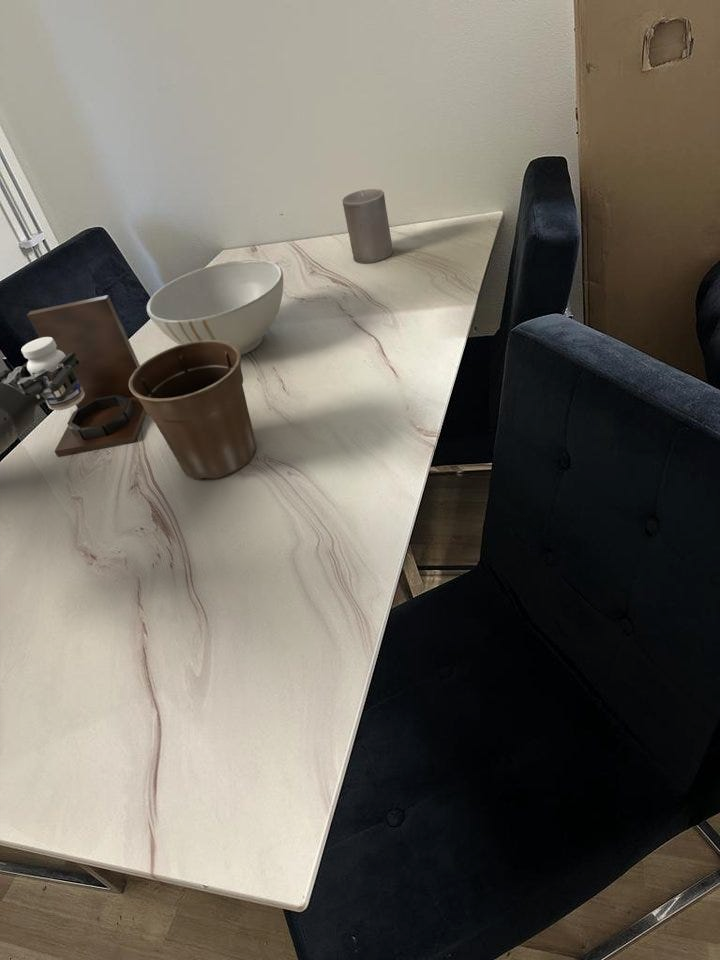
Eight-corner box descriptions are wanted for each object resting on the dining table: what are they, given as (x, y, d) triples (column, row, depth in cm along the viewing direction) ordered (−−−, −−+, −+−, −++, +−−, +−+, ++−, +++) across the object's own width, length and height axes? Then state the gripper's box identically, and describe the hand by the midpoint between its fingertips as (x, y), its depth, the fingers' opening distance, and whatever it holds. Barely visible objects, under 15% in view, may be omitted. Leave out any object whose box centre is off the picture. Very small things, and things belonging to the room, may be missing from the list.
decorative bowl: (184, 395, 122) (159, 336, 114) (158, 343, 142) (136, 290, 134) (317, 344, 127) (301, 285, 120) (274, 301, 148) (259, 248, 140)
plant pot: (291, 445, 103) (262, 353, 93) (208, 504, 95) (167, 411, 85) (231, 416, 113) (199, 330, 103) (151, 467, 105) (108, 380, 95)
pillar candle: (345, 260, 159) (331, 195, 150) (374, 244, 163) (363, 181, 154) (372, 266, 153) (360, 199, 143) (402, 250, 157) (392, 184, 148)
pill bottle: (93, 394, 103) (64, 336, 97) (63, 414, 99) (31, 355, 93) (71, 389, 106) (41, 332, 100) (41, 408, 102) (9, 351, 96)
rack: (57, 456, 113) (-5, 353, 101) (82, 408, 125) (30, 311, 113) (135, 442, 112) (83, 335, 100) (153, 394, 124) (108, 294, 112)
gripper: (19, 397, 84) (87, 333, 96) (-70, 401, 88) (7, 340, 101) (47, 444, 89) (109, 378, 101) (-38, 446, 93) (31, 382, 105)
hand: (58, 359), depth 101 cm, fingers closed on pill bottle, 5 cm apart
